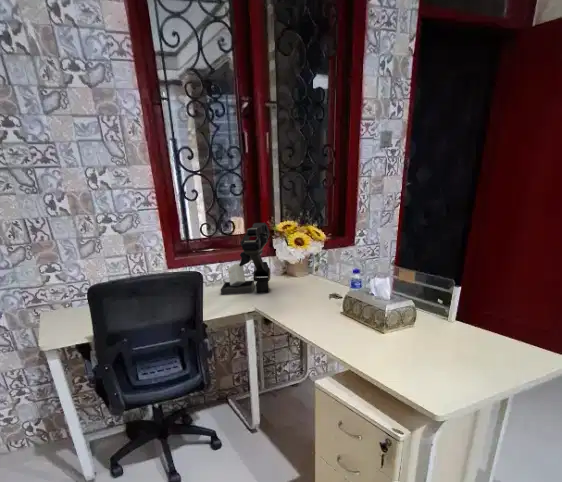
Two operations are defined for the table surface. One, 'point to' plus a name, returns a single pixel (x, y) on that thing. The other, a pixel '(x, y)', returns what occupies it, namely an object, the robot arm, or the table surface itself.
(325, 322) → the table surface
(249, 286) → the pan
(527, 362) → the table surface
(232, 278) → the small box
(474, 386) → the table surface
